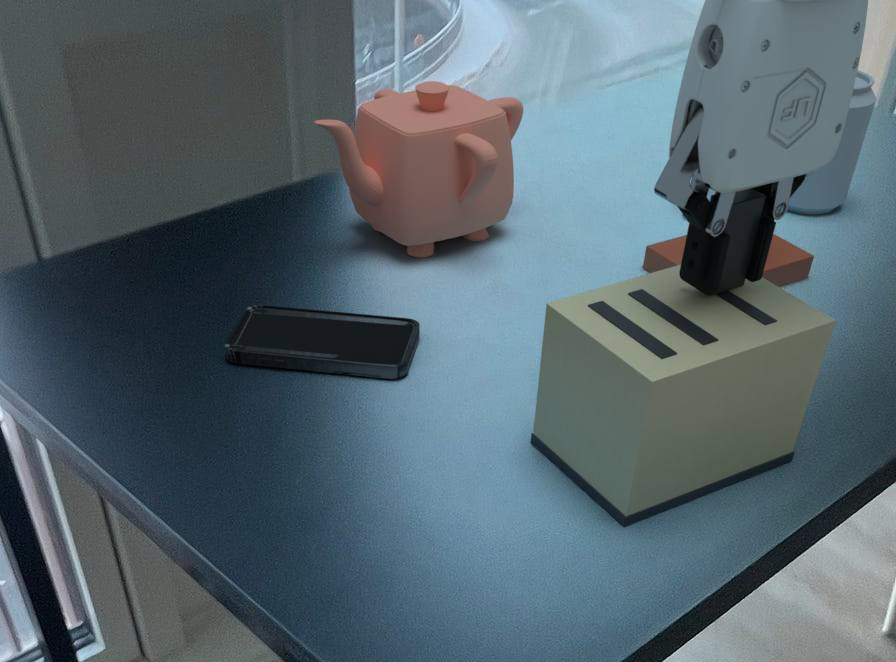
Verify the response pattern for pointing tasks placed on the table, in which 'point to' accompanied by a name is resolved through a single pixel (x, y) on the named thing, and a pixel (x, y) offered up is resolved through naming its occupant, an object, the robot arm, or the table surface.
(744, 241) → the toaster slider
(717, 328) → the toaster
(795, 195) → the can
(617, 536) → the table surface
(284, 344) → the phone
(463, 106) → the teapot
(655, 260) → the control block
